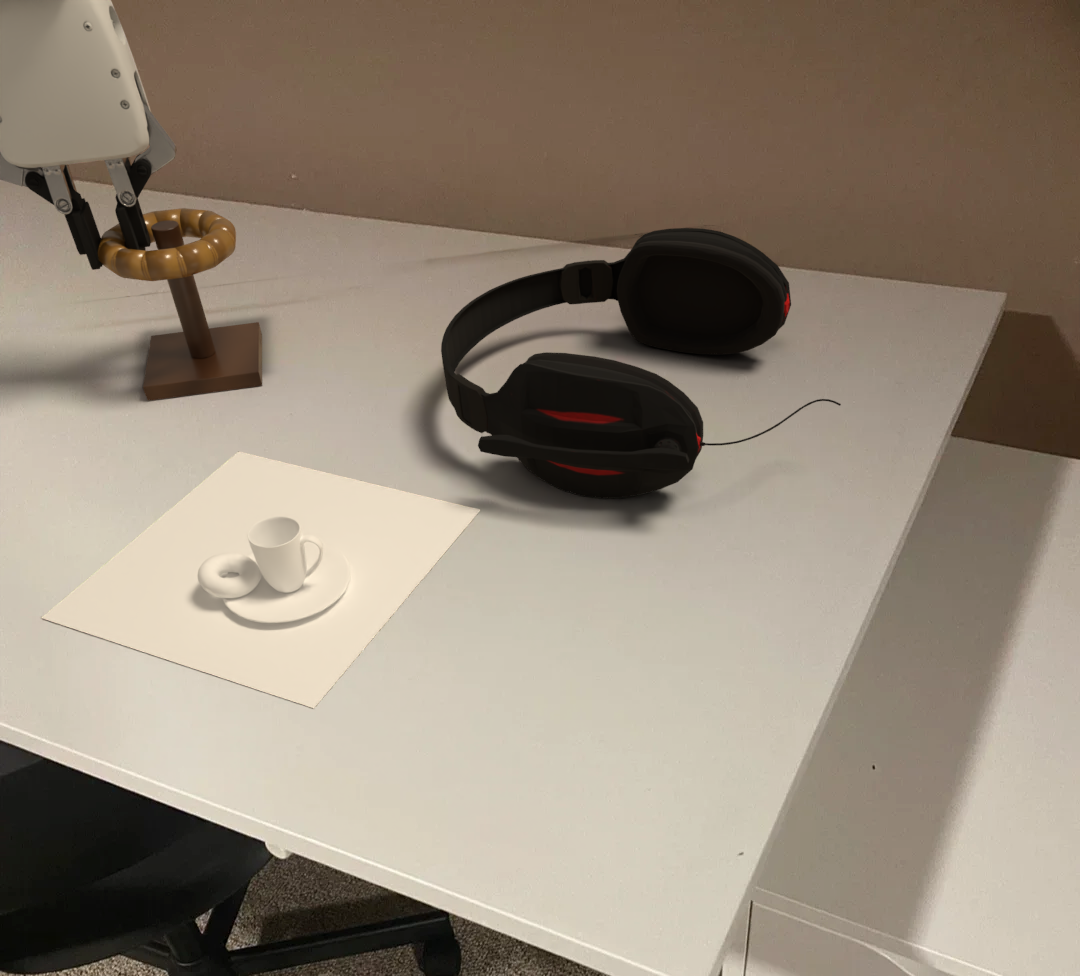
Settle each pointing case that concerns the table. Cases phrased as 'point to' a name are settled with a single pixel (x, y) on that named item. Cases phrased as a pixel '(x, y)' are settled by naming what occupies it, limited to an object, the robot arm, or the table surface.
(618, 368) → the headset
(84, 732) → the table surface
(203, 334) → the rack
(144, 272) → the ring
